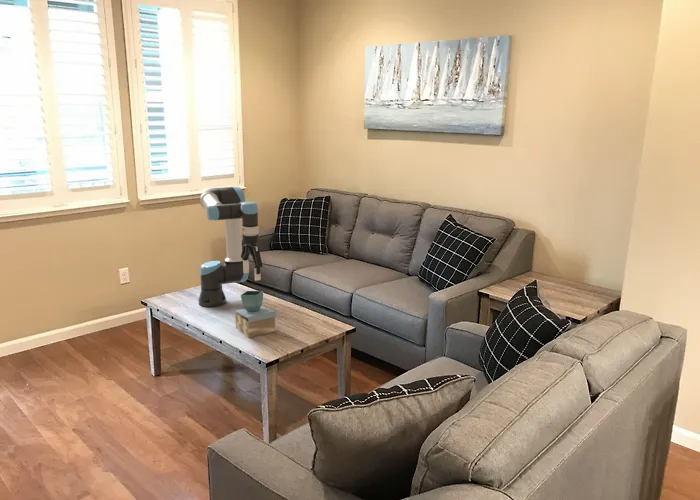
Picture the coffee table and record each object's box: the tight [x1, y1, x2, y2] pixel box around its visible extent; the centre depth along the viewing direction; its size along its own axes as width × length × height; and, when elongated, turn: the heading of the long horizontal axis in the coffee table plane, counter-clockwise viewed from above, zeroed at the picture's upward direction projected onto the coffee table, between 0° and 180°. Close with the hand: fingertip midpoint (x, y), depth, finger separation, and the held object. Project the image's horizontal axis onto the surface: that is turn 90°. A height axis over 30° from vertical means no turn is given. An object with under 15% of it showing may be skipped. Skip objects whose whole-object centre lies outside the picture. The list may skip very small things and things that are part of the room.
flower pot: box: [240, 290, 264, 311], centre depth 279 cm, size 9×9×9 cm
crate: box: [234, 312, 276, 339], centre depth 279 cm, size 16×14×8 cm
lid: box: [234, 304, 277, 322], centre depth 278 cm, size 17×14×2 cm
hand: (251, 276), depth 276 cm, fingers open, 13 cm apart
